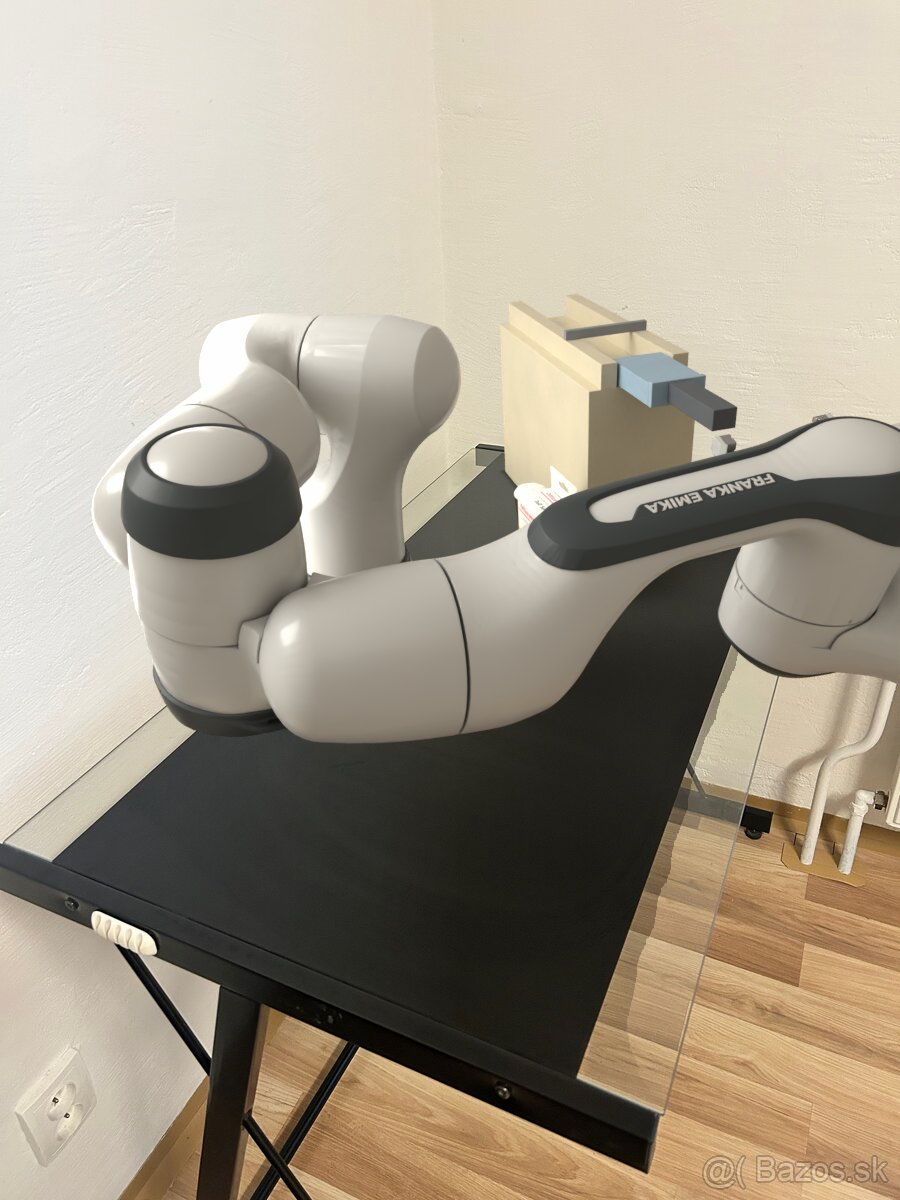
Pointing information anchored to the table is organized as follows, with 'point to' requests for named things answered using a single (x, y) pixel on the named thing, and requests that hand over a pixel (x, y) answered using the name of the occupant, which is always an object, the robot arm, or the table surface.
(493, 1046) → the table surface
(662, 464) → the detergent unit
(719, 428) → the tray
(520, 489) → the milkshake
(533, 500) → the ink box
